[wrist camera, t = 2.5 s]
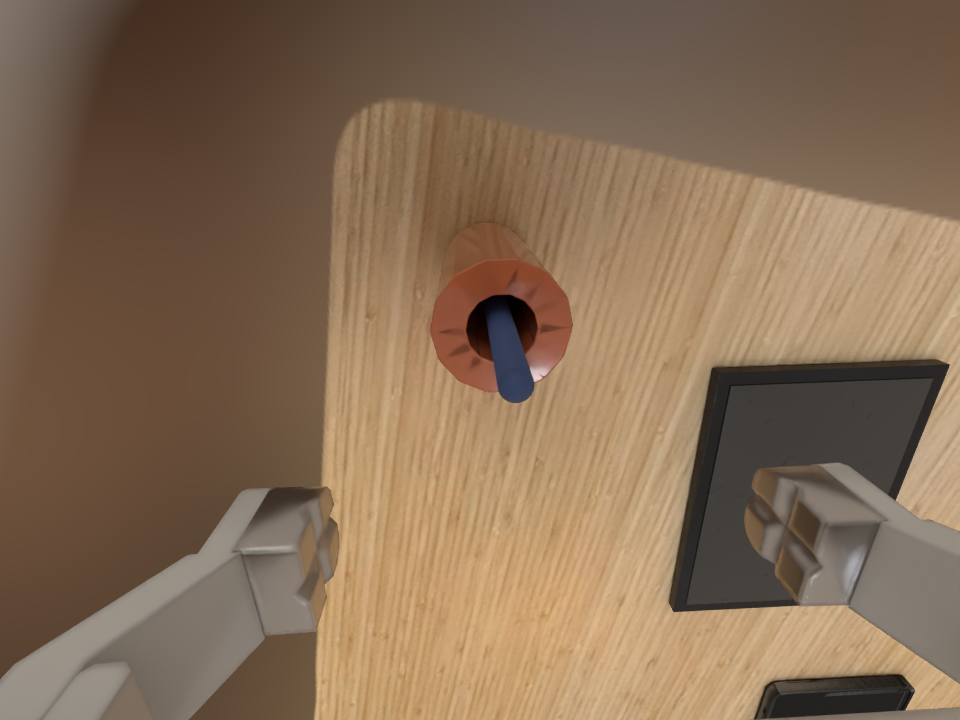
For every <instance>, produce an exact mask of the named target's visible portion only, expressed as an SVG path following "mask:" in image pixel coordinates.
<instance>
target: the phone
mask: <svg viewBox="0 0 960 720" xmlns="http://www.w3.org/2000/svg"><path fill="white" fill-rule="evenodd" d="M914 692H915V689H914V688H913V687H912V686H911V684H910V683H909V682H908V681H907V680H906V679H905V678H904V677H903V676H879V677H860V678H841V679H823V680H804V681H785V682H775V683H772V684H771V685H769V686H768V687H767V688H766V690H765V693H764V696H763V699H762V702H761V705H760V708H759V711H758V714H757V717H756V719H773V718H789V717H806V716H823V715H839V714H856V713H872V712H889V711H905V709H906V707H907V706H908V704H909V702H910V700H911V698H912V696H913V694H914Z"/></svg>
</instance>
